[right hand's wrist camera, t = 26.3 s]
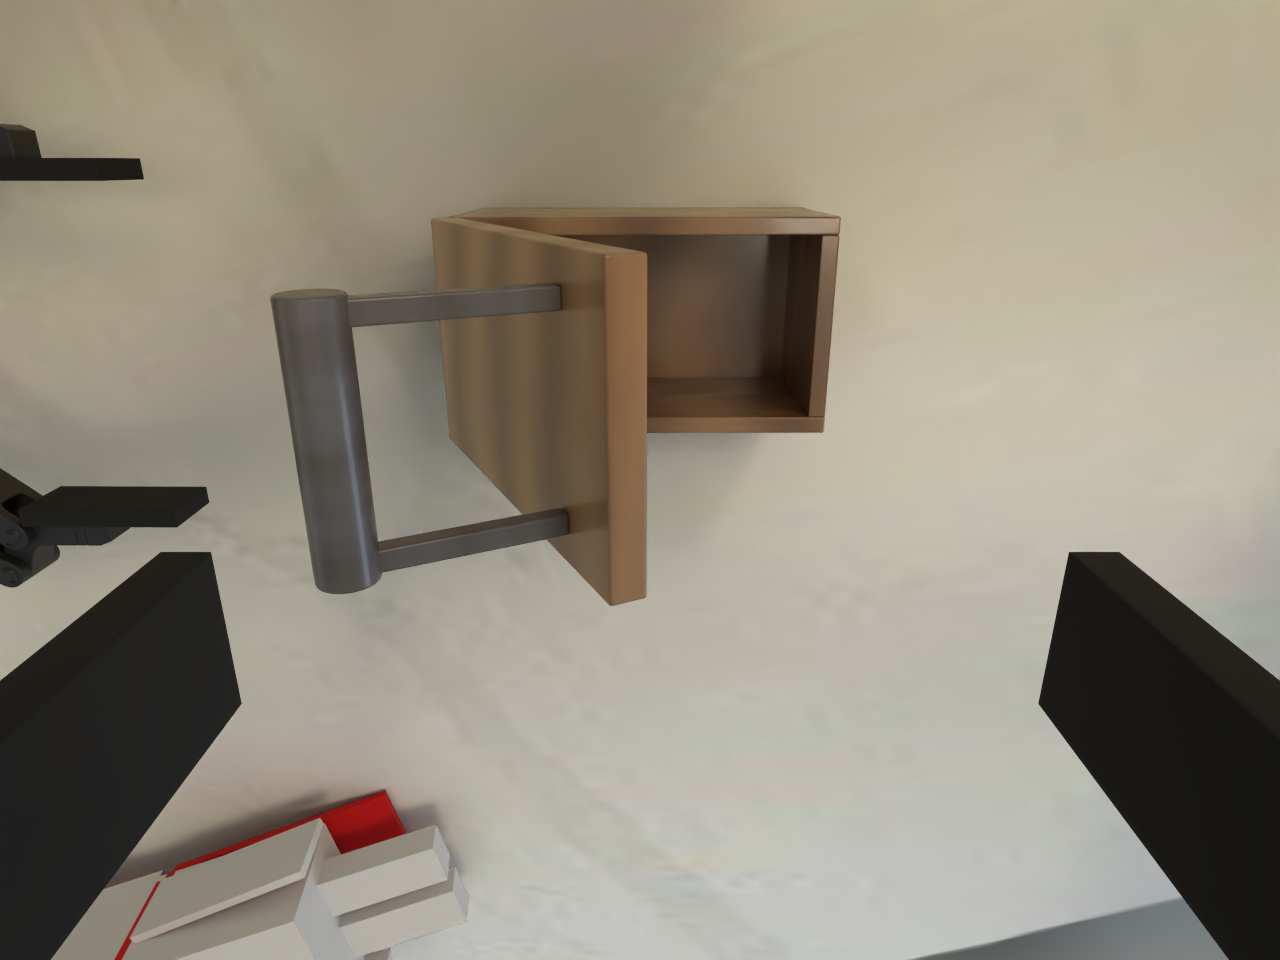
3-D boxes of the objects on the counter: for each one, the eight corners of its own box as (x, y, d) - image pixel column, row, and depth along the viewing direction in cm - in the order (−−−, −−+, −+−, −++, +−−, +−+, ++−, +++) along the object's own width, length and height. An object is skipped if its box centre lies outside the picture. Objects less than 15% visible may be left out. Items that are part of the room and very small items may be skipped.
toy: (476, 1014, 50) (-8, 1174, 49) (486, 853, 63) (100, 978, 62) (405, 866, 46) (-125, 1036, 45) (430, 725, 59) (17, 856, 58)
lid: (648, 252, 20) (275, 270, 17) (647, 598, 24) (337, 676, 20) (458, 217, 35) (236, 223, 31) (475, 435, 38) (276, 463, 35)
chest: (803, 207, 43) (841, 216, 35) (791, 387, 47) (823, 432, 39) (483, 207, 43) (448, 217, 35) (494, 387, 47) (465, 433, 39)
